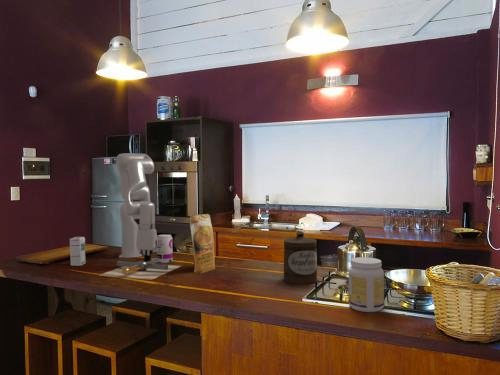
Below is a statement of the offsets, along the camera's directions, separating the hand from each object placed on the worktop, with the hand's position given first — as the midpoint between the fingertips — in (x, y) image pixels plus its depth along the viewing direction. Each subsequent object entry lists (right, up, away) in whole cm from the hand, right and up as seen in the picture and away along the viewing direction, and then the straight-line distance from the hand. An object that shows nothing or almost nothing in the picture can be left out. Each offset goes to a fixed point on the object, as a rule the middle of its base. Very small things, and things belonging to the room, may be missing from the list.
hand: (147, 262), depth 201 cm
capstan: (0, -2, -9) cm, 9 cm away
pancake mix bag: (+29, -3, -6) cm, 30 cm away
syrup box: (-40, -3, +10) cm, 41 cm away
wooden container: (+75, -4, -23) cm, 78 cm away
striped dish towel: (0, -3, -9) cm, 10 cm away
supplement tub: (+93, -5, -61) cm, 112 cm away
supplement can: (+6, -3, +12) cm, 14 cm away
